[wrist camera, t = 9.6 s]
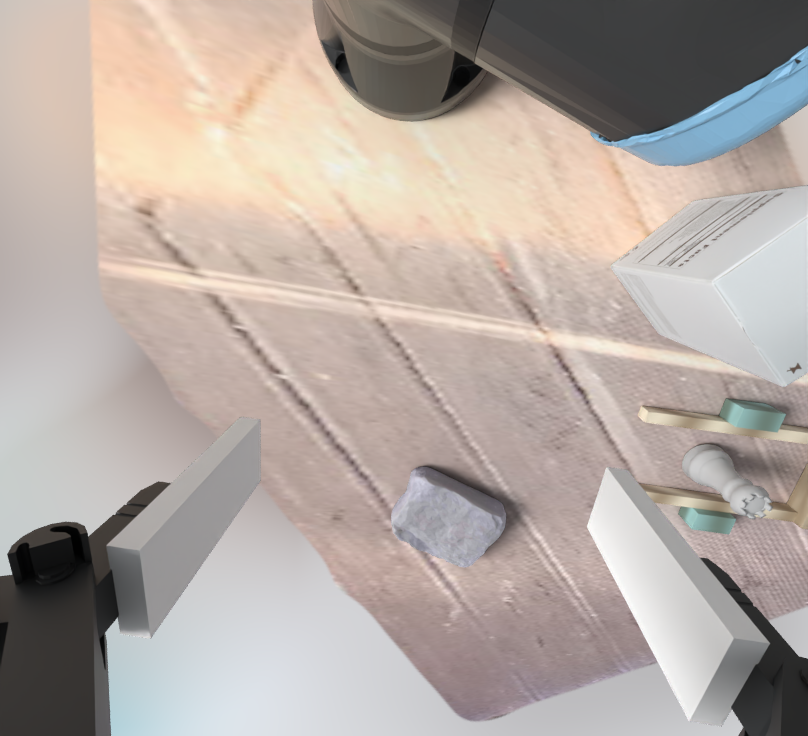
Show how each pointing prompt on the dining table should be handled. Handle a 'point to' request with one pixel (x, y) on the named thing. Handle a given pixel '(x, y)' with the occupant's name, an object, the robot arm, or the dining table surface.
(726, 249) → the supplement box
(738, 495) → the rook chess piece
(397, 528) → the stone block
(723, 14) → the robot arm
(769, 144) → the dining table surface
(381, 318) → the dining table surface
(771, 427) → the beam track
